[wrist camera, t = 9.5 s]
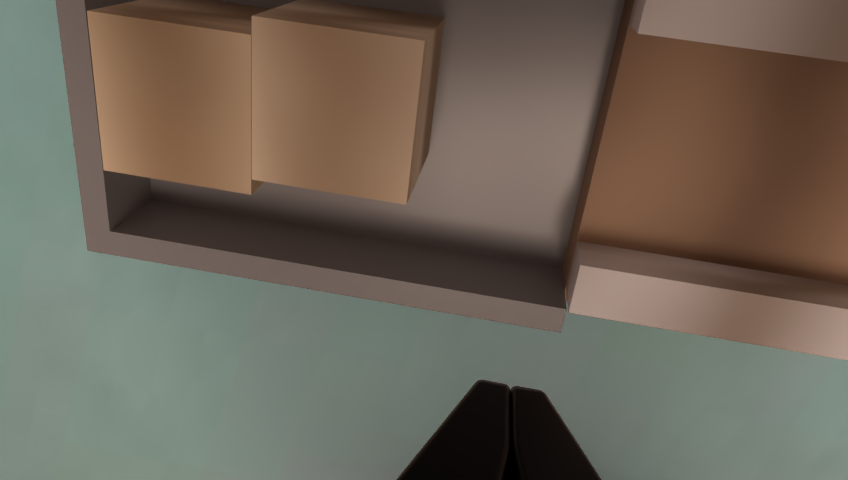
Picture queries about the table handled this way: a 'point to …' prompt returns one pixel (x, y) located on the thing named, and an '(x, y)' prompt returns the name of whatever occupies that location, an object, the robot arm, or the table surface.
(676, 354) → the table surface
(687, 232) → the slot board
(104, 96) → the light brown cube
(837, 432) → the table surface
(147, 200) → the tray
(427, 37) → the brown wooden cube
